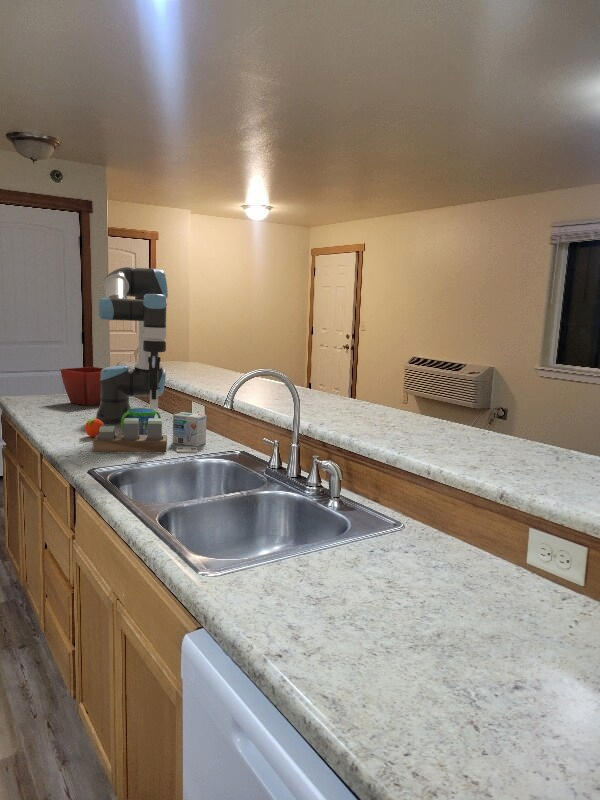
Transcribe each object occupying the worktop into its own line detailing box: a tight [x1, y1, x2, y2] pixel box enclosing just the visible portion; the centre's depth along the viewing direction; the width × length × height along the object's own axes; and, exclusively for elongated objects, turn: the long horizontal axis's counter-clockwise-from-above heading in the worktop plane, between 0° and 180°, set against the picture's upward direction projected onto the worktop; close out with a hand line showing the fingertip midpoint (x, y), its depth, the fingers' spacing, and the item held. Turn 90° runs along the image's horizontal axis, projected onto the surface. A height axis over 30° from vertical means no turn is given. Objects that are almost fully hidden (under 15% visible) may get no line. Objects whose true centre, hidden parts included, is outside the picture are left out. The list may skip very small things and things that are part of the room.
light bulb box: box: [172, 411, 208, 447], centre depth 221 cm, size 11×7×11 cm, turn 70°
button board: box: [92, 434, 168, 453], centre depth 208 cm, size 10×24×4 cm, turn 101°
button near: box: [99, 425, 116, 439], centre depth 206 cm, size 5×5×7 cm
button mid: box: [123, 418, 139, 440], centre depth 207 cm, size 5×5×7 cm
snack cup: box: [120, 407, 162, 435], centre depth 228 cm, size 16×10×10 cm
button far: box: [148, 417, 163, 440], centre depth 209 cm, size 5×5×7 cm
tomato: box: [84, 417, 105, 438], centre depth 223 cm, size 8×7×7 cm
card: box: [176, 446, 198, 454], centre depth 210 cm, size 6×7×1 cm
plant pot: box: [60, 366, 104, 406], centre depth 294 cm, size 19×19×17 cm
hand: (153, 408), depth 207 cm, fingers closed
